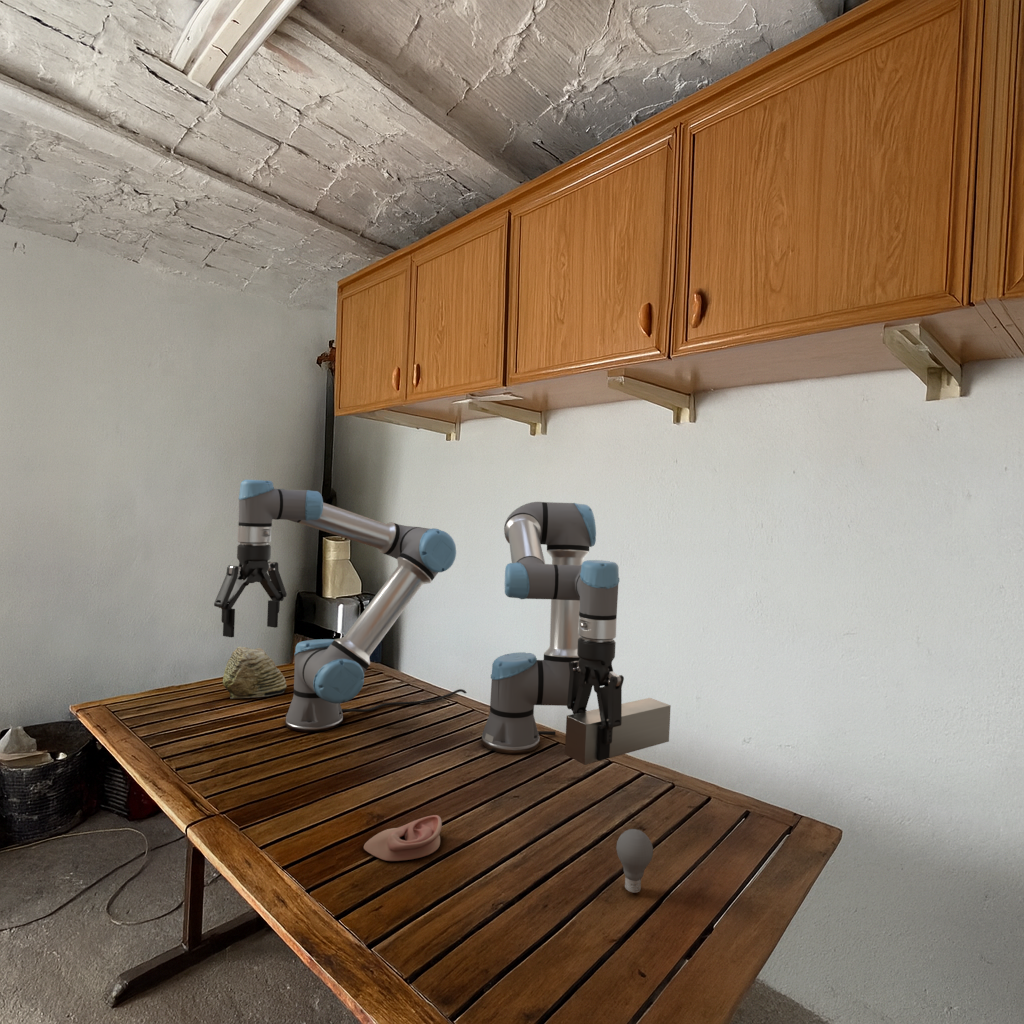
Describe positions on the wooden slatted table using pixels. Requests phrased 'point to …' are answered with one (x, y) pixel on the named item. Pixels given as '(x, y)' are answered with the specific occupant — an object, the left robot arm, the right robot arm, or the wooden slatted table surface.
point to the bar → (618, 730)
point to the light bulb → (634, 857)
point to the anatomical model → (407, 840)
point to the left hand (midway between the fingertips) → (251, 631)
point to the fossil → (252, 674)
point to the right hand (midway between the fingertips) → (591, 752)
